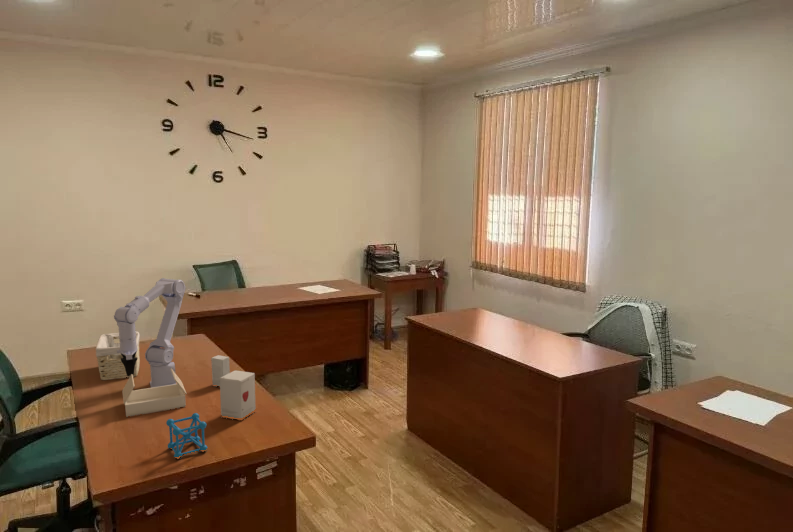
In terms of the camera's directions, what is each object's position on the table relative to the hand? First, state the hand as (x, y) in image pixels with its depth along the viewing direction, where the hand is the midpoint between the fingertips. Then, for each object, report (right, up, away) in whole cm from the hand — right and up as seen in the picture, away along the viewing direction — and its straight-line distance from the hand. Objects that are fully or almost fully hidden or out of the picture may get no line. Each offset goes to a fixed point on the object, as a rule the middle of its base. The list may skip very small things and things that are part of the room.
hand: (130, 372), depth 215 cm
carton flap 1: (+4, -4, -10) cm, 12 cm away
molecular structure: (+37, -17, -40) cm, 57 cm away
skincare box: (+30, -9, +16) cm, 35 cm away
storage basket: (-19, -6, +32) cm, 38 cm away
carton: (+12, -11, -5) cm, 17 cm away
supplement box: (+46, -13, -13) cm, 49 cm away
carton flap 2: (+19, -3, -2) cm, 20 cm away
